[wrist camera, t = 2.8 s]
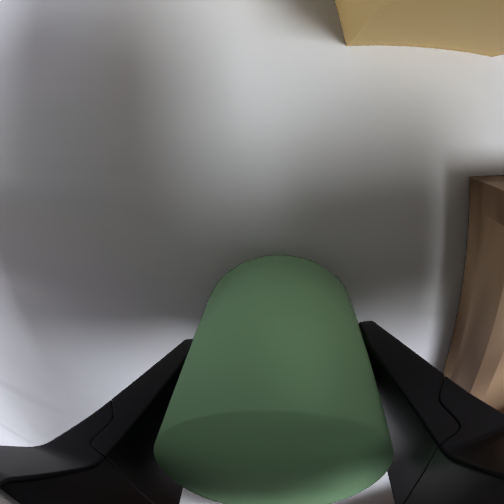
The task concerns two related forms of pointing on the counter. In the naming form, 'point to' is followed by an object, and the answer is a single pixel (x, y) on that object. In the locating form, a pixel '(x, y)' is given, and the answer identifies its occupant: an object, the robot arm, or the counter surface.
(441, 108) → the counter surface
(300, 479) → the cucumber chunk
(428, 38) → the cheddar cube
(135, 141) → the counter surface
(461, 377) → the serving tray
